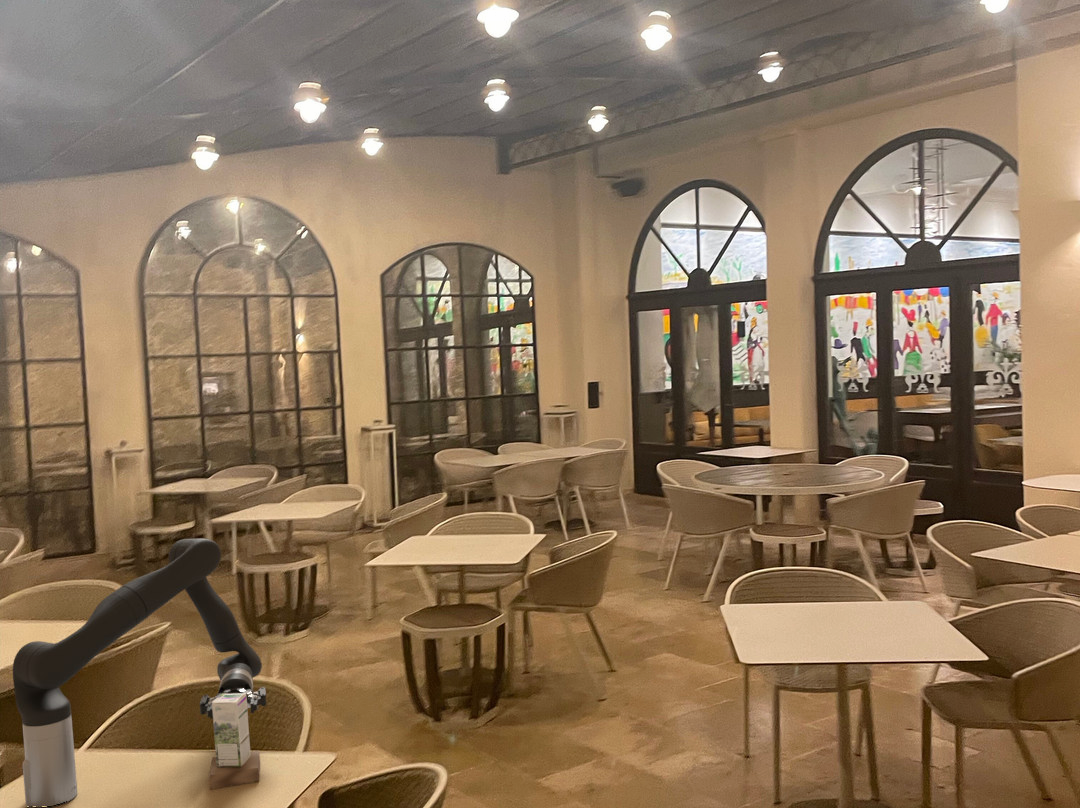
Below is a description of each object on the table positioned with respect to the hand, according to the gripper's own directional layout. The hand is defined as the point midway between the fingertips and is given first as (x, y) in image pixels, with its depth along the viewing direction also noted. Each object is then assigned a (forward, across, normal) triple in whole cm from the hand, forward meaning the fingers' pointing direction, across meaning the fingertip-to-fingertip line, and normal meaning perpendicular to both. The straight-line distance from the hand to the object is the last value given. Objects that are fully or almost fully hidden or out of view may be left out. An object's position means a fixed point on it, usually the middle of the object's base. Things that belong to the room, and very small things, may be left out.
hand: (232, 711), depth 213 cm
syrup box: (+2, 0, +11) cm, 11 cm away
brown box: (+2, 0, +14) cm, 14 cm away
